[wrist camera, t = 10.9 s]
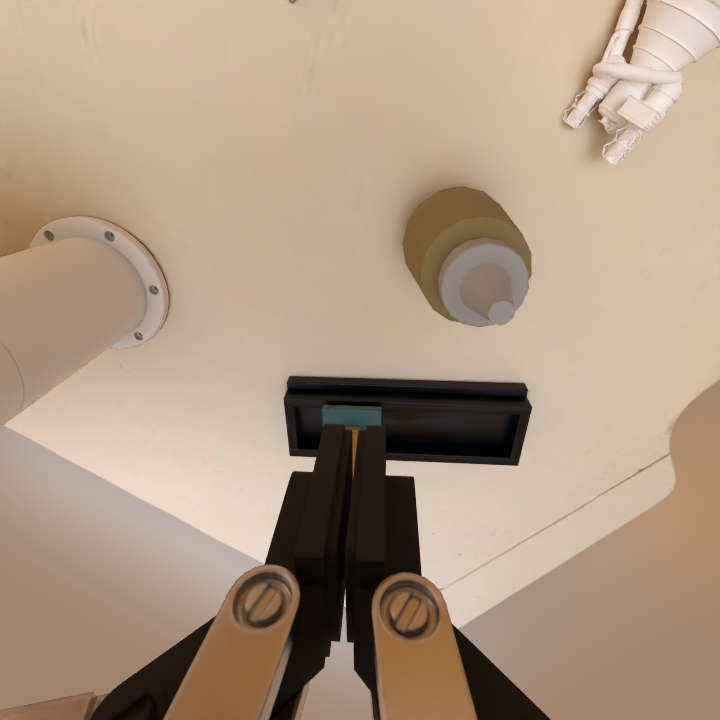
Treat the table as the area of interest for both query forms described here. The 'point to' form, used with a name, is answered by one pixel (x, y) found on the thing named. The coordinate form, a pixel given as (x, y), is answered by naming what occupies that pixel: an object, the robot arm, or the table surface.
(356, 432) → the nozzle
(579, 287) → the table surface
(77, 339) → the robot arm
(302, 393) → the black rectangular tray
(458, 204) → the squeeze bottle
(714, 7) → the rocket engine
